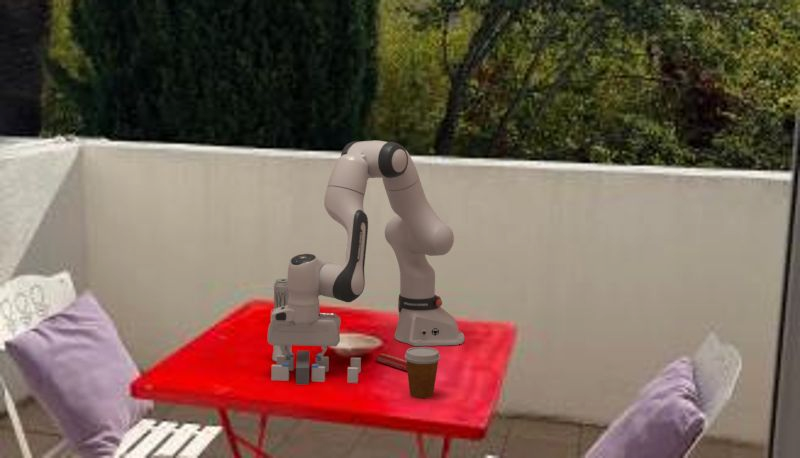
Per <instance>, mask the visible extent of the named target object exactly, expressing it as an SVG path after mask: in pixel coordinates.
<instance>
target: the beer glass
mask: <svg viewBox="0 0 800 458" xmlns="http://www.w3.org/2000/svg"><path fill="white" fill-rule="evenodd" d="M275 309H276V308H275ZM275 309H274V308H273V309H271V311H270V322H271V321H272V313H273V311H274V310H275ZM272 346H273V352H272V357H271V359H272V361H273V362H276V363H277V355H284V354H283V352H282V350H281V349H280V345H272ZM292 346H293V345H286V348H285V349H286V351H287V352H288V353H290V354H293V352H292Z"/></svg>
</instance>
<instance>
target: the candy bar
mask: <svg viewBox="0 0 800 458" xmlns="http://www.w3.org/2000/svg"><path fill="white" fill-rule="evenodd" d="M374 359H375V361H377V362H379V363H381V364H384V365H387V366H390V367H393V368H396V369H399V370H403V371H406V372H408V371H407V361H406V359H403V358H400V357H396V356H393V355H390V354H386V353H377V354H376V356H375V357H374Z"/></svg>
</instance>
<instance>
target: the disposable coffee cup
mask: <svg viewBox="0 0 800 458" xmlns="http://www.w3.org/2000/svg"><path fill="white" fill-rule="evenodd" d="M404 358H405V360H406V361H407V371H406V372H407V378H408V379H407V380H408V388H409V395H410V396H411V397H413V398H417V399H428V398H431V397H433V396H434V391H435V384H436V380H437V378H436V377H437V372H438V365H439V361H440V358H441V355H440V353H439V350H438V349H436V348H433V347H429V346H414V347H410V348H408V349H407V350H406V352H405V355H404Z"/></svg>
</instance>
